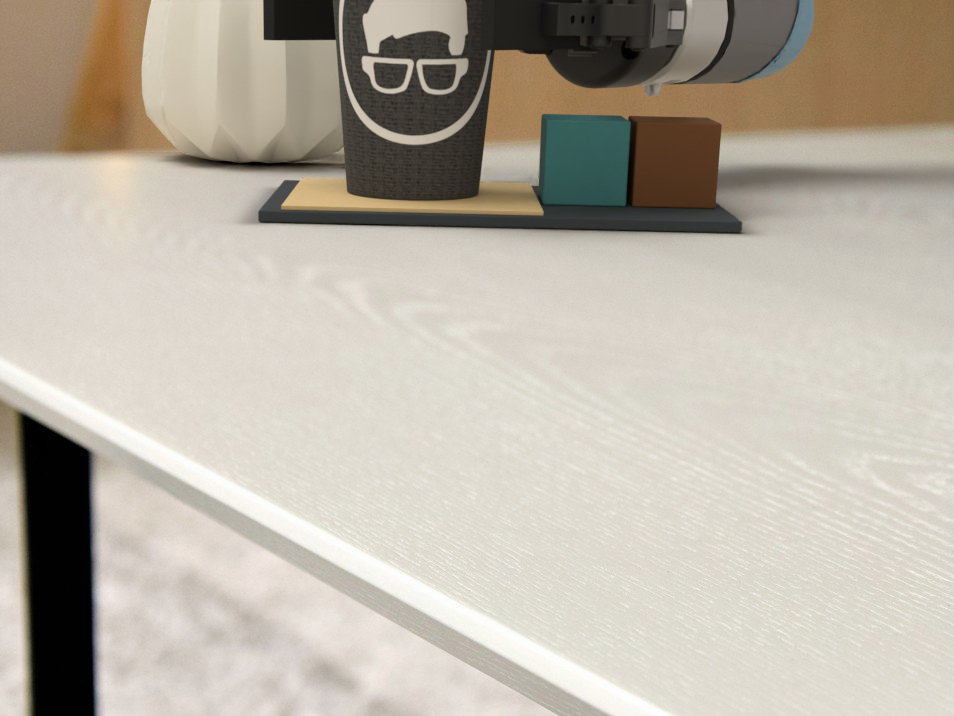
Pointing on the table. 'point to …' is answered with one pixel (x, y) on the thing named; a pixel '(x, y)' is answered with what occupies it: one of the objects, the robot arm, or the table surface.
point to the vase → (238, 84)
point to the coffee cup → (412, 97)
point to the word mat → (558, 184)
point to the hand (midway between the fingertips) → (371, 14)
